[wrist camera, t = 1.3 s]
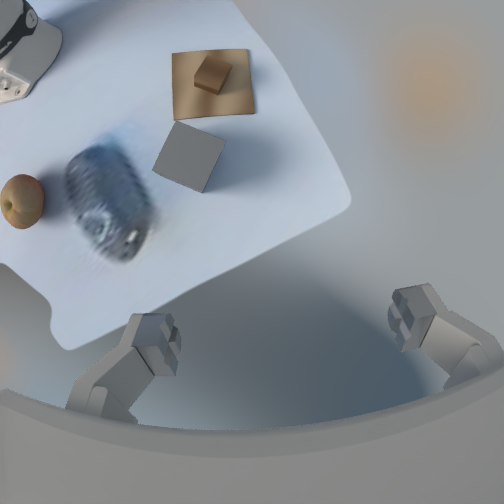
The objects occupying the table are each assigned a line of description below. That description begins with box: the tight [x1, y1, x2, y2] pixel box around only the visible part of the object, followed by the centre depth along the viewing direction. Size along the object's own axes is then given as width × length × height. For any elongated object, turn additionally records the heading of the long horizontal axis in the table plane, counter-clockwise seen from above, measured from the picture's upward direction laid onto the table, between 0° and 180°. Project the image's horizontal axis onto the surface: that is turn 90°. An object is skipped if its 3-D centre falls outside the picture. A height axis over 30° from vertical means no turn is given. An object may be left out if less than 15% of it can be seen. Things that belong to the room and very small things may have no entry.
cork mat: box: [172, 49, 255, 120], centre depth 36 cm, size 12×12×1 cm
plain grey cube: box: [152, 121, 226, 193], centre depth 34 cm, size 7×7×8 cm
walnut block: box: [194, 55, 232, 95], centre depth 34 cm, size 4×4×4 cm
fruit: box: [0, 174, 44, 229], centre depth 30 cm, size 8×8×8 cm
